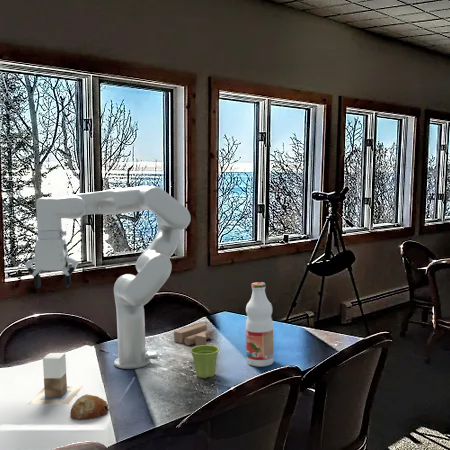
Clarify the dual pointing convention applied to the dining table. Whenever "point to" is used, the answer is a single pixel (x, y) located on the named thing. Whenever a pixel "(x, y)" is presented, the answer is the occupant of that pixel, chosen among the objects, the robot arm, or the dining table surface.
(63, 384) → the walnut block
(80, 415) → the bread roll
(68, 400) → the birch board
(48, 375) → the cream block
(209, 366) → the plant pot
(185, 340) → the wooden block set
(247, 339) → the fruit juice
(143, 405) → the dining table surface
